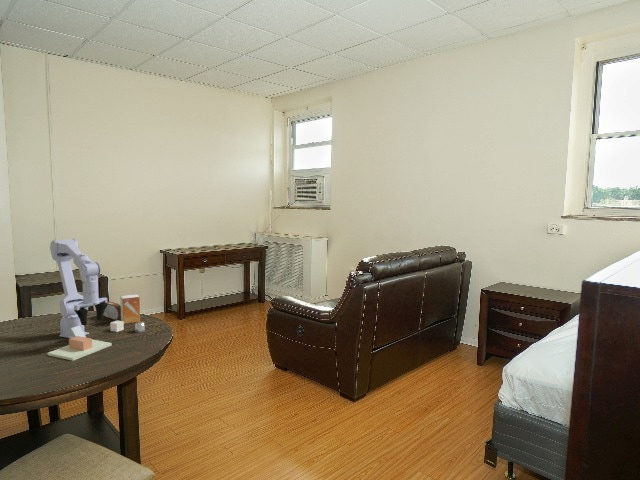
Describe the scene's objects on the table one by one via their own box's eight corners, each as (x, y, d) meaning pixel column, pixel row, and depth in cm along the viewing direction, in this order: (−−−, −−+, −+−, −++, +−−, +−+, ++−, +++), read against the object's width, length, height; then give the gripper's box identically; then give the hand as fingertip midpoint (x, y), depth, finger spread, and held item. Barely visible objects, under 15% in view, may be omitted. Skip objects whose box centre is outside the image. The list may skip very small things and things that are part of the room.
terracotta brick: (69, 348, 169) (68, 339, 169) (78, 344, 173) (77, 336, 172) (83, 350, 166) (83, 341, 166) (92, 347, 170) (91, 338, 170)
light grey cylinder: (133, 332, 193) (133, 323, 193) (140, 329, 197) (139, 321, 196) (140, 333, 192) (140, 324, 191) (146, 330, 195) (146, 322, 195)
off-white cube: (110, 331, 194) (110, 322, 194) (117, 328, 198) (117, 320, 197) (116, 332, 193) (116, 323, 192) (123, 329, 196) (123, 321, 196)
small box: (123, 324, 204) (122, 298, 203) (120, 321, 209) (120, 295, 208) (140, 321, 209) (139, 296, 207) (138, 318, 214) (137, 293, 213)
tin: (123, 320, 211) (123, 304, 210) (118, 321, 208) (117, 305, 207) (107, 315, 219) (106, 299, 218) (101, 316, 216) (100, 301, 215)
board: (47, 355, 164) (47, 352, 164) (87, 340, 180) (87, 338, 180) (73, 360, 159) (73, 358, 159) (111, 345, 176) (111, 343, 175)
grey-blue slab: (68, 330, 180) (70, 328, 179) (77, 327, 183) (79, 325, 183) (75, 342, 179) (77, 339, 178) (83, 339, 182) (86, 336, 182)
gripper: (82, 296, 167) (83, 328, 168) (112, 288, 180) (113, 319, 181) (69, 294, 169) (71, 326, 171) (100, 287, 183) (101, 317, 184)
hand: (91, 322), depth 176 cm, fingers open, 7 cm apart
